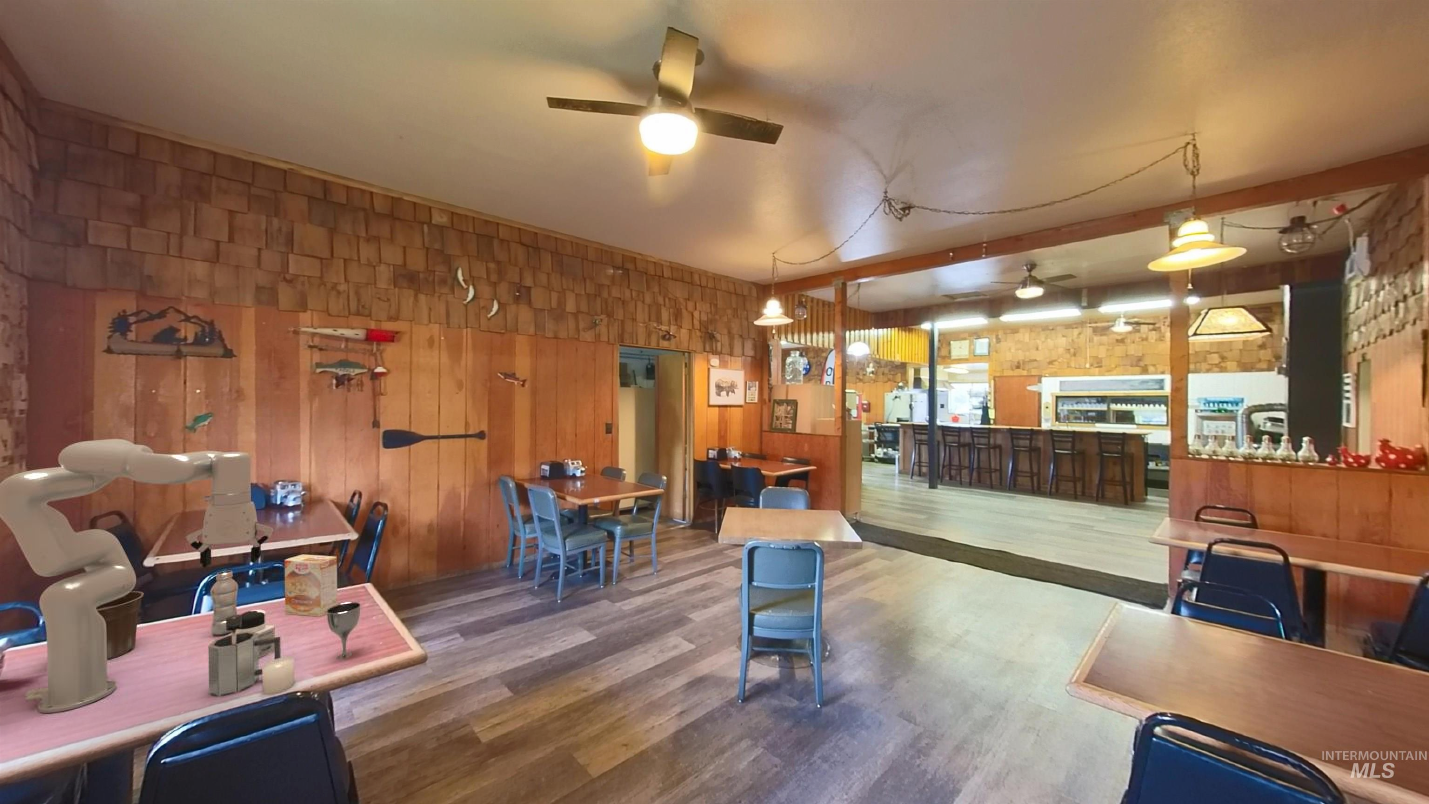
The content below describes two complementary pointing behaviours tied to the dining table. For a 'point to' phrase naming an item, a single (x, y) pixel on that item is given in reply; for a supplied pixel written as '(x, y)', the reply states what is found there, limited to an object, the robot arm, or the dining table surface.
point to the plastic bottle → (223, 601)
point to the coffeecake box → (310, 584)
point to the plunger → (233, 625)
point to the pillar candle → (278, 675)
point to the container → (258, 629)
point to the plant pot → (121, 623)
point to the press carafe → (236, 663)
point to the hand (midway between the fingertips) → (231, 563)
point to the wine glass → (343, 622)
